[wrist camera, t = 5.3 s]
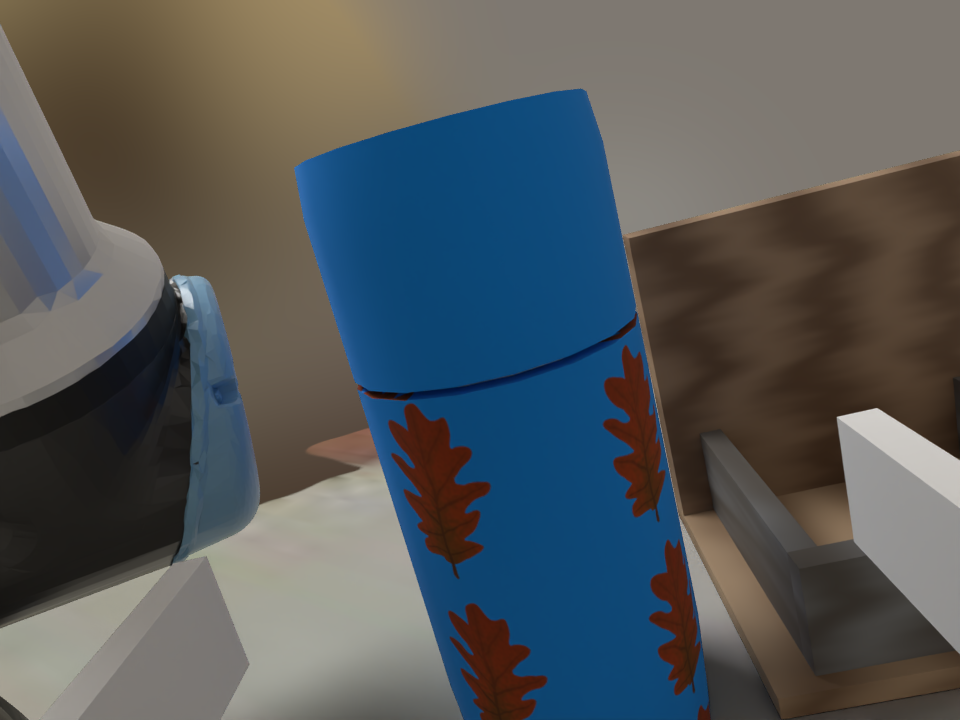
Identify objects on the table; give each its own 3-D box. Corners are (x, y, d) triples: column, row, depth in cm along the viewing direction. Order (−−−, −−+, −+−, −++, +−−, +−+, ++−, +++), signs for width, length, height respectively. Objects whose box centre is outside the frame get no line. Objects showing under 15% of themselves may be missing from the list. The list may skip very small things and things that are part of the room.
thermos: (662, 863, 24) (478, 98, 17) (422, 770, 30) (224, 186, 24) (743, 648, 32) (639, 81, 26) (542, 611, 38) (419, 149, 32)
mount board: (781, 719, 28) (705, 282, 23) (678, 514, 44) (622, 235, 40) (1300, 627, 26) (1326, 132, 21) (991, 448, 42) (969, 147, 38)
